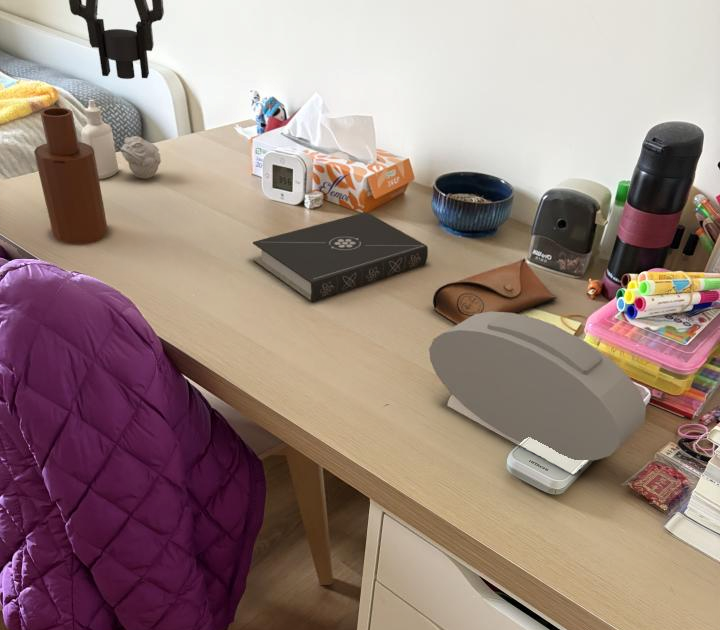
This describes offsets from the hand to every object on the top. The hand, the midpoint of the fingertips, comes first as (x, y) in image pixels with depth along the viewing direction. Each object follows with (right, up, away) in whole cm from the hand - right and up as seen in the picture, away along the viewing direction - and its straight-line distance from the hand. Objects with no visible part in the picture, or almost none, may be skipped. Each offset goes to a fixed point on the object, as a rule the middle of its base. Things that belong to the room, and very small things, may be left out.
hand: (126, 74), depth 103 cm
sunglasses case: (+53, -34, -2) cm, 63 cm away
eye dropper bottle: (-11, -5, +23) cm, 26 cm away
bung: (0, 0, 0) cm, 0 cm away
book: (+31, -26, +4) cm, 41 cm away
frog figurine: (-4, -6, +23) cm, 24 cm away
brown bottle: (-9, -21, +5) cm, 23 cm away
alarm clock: (+52, -53, -23) cm, 78 cm away
